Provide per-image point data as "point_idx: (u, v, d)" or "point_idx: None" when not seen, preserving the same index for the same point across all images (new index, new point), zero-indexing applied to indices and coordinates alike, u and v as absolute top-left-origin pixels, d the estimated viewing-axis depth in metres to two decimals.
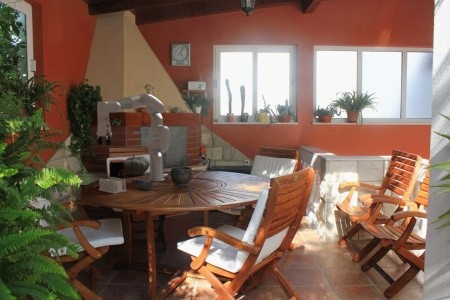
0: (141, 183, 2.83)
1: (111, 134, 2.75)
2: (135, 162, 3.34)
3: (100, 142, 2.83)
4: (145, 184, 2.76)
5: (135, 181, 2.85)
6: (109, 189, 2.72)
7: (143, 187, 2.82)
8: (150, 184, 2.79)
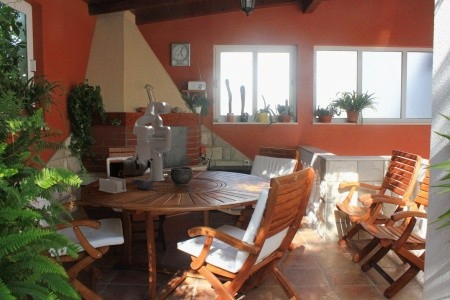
0: (141, 183, 2.84)
1: (152, 157, 2.88)
2: None
3: None
4: (145, 184, 2.76)
5: (135, 181, 2.86)
6: (109, 189, 2.72)
7: (144, 187, 2.82)
8: (150, 184, 2.79)
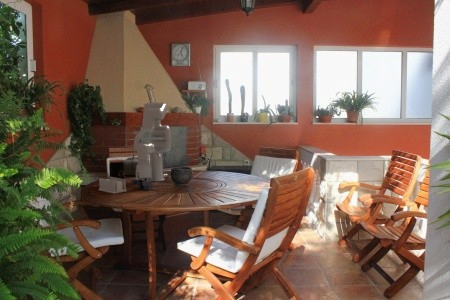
0: None
1: (150, 177, 2.88)
2: (135, 162, 3.34)
3: None
4: (145, 184, 2.76)
5: (135, 181, 2.85)
6: (109, 189, 2.72)
7: None
8: (150, 184, 2.79)
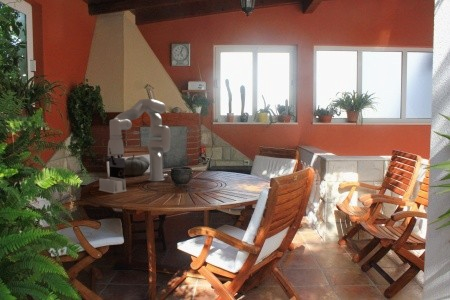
0: None
1: (123, 154, 2.81)
2: (135, 162, 3.34)
3: None
4: (117, 161, 2.69)
5: (107, 159, 2.78)
6: (109, 189, 2.72)
7: (116, 164, 2.75)
8: (122, 161, 2.72)
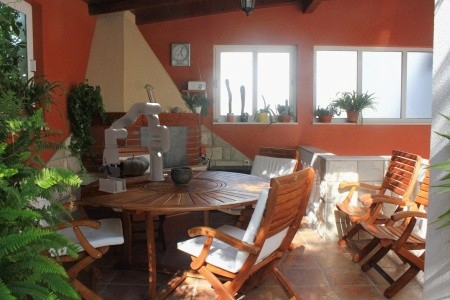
0: None
1: (118, 163, 2.81)
2: (135, 162, 3.34)
3: None
4: (112, 170, 2.68)
5: (103, 168, 2.78)
6: (109, 189, 2.72)
7: (111, 174, 2.74)
8: (117, 171, 2.72)
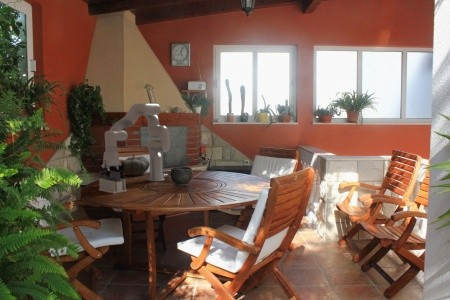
0: None
1: (120, 164, 2.82)
2: (135, 162, 3.34)
3: None
4: (112, 175, 2.69)
5: (103, 173, 2.78)
6: (109, 189, 2.72)
7: (111, 178, 2.75)
8: (118, 175, 2.72)
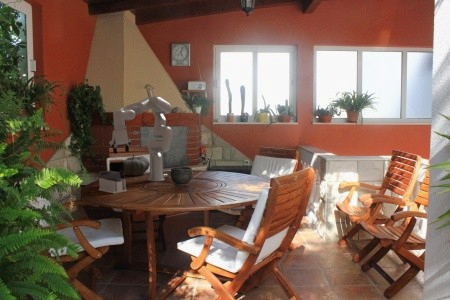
0: (109, 175, 2.76)
1: (130, 140, 2.89)
2: (135, 162, 3.34)
3: None
4: (112, 175, 2.69)
5: (103, 173, 2.78)
6: (109, 189, 2.72)
7: (111, 178, 2.75)
8: (118, 175, 2.72)
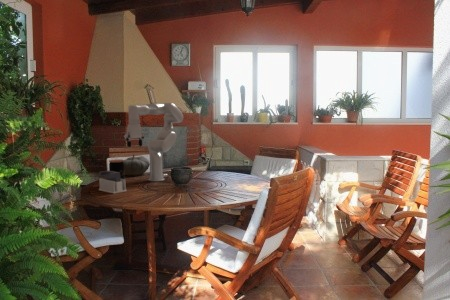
0: (109, 175, 2.76)
1: None
2: (135, 162, 3.34)
3: None
4: (112, 175, 2.69)
5: (103, 173, 2.78)
6: (109, 189, 2.72)
7: (111, 178, 2.75)
8: (118, 175, 2.72)
